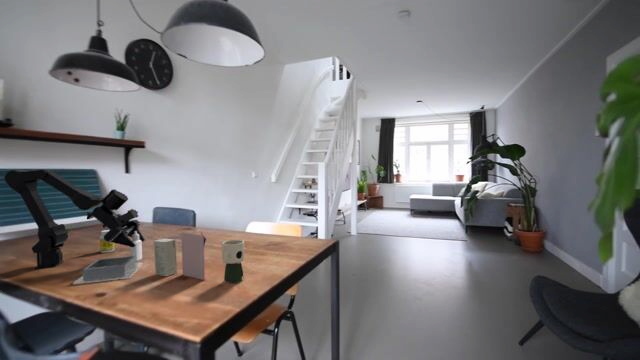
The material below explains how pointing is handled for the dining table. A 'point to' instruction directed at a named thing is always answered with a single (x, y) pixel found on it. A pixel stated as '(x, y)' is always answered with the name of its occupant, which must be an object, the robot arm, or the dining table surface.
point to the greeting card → (193, 255)
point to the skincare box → (165, 257)
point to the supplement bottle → (105, 243)
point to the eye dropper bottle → (136, 247)
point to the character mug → (233, 259)
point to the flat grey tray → (109, 270)
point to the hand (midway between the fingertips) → (139, 243)
